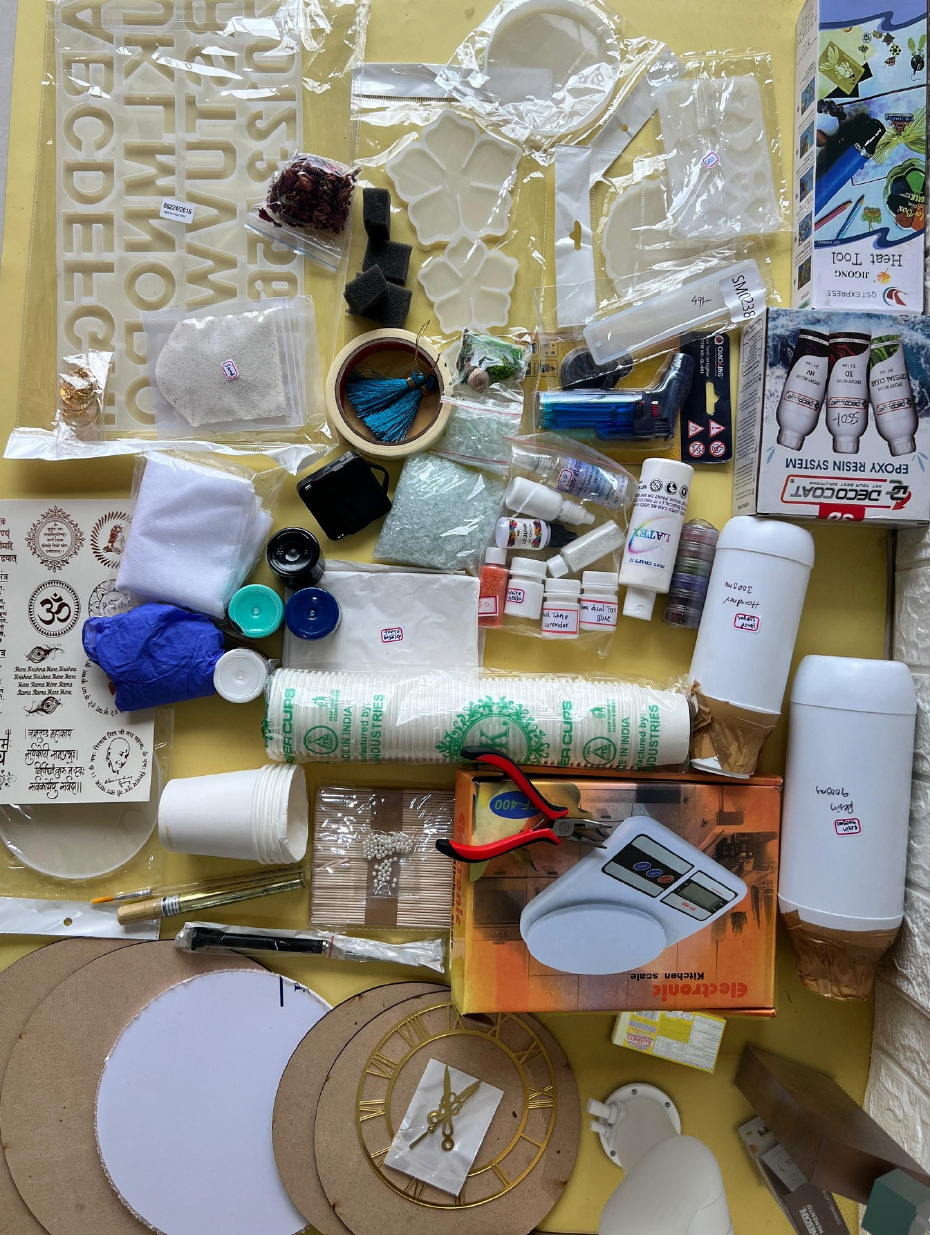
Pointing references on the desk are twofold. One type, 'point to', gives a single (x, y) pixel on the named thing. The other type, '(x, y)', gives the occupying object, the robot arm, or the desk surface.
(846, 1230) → the coffee box
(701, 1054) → the candy box
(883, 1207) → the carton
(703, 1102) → the desk surface
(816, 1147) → the brown slanted block
